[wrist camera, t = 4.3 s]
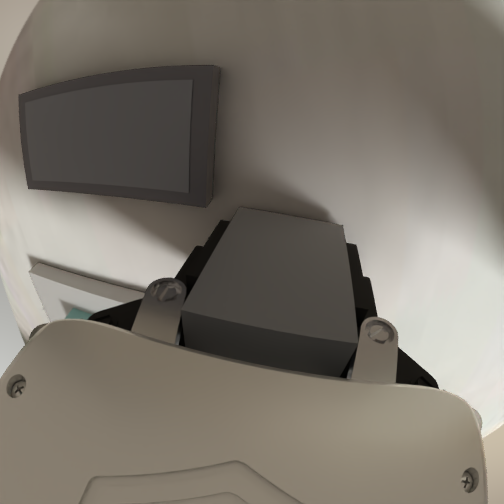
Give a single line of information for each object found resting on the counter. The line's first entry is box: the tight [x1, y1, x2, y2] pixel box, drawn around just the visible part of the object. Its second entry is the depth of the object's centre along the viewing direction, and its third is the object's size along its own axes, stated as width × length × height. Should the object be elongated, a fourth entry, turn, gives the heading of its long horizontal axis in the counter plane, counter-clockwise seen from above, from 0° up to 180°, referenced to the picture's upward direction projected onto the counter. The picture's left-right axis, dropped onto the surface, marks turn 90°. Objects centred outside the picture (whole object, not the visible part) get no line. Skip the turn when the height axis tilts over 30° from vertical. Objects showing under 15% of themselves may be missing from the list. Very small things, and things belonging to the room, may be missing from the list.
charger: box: [181, 207, 358, 377], centre depth 10 cm, size 4×4×6 cm
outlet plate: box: [29, 263, 145, 322], centre depth 18 cm, size 20×14×2 cm
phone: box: [19, 65, 221, 208], centre depth 10 cm, size 11×6×1 cm, turn 85°
